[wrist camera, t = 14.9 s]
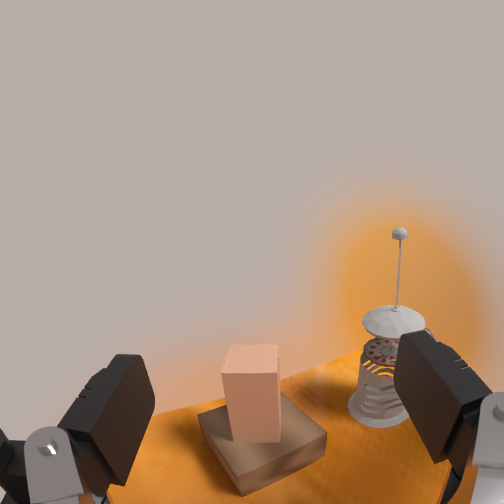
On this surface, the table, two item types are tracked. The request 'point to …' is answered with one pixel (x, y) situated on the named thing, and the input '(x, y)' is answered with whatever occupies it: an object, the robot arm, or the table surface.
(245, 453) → the walnut block
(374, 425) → the french press
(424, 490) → the table surface
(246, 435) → the terracotta block
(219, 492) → the table surface
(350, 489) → the table surface
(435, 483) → the table surface
